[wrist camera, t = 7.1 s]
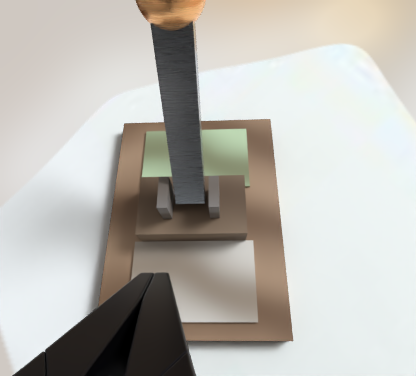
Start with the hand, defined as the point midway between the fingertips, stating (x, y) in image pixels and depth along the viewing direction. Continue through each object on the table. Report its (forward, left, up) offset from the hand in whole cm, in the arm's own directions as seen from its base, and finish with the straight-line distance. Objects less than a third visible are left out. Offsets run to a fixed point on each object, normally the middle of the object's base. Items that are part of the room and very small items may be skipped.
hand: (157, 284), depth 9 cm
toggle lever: (+5, -4, -9) cm, 11 cm away
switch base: (+5, -4, -12) cm, 13 cm away
